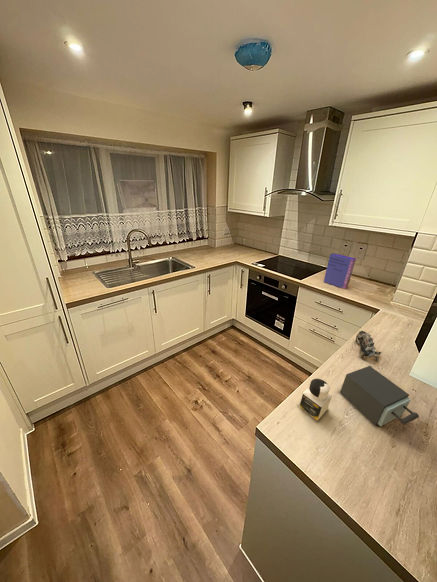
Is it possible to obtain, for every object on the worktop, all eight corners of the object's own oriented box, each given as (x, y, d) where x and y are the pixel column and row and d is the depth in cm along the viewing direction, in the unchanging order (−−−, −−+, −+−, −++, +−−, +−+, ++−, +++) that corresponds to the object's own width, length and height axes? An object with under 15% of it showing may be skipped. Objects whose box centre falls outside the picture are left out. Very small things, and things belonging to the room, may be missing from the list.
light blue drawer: (415, 426, 78) (425, 410, 75) (393, 438, 74) (402, 422, 71) (367, 386, 93) (373, 371, 90) (346, 395, 89) (352, 379, 86)
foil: (348, 349, 110) (360, 323, 115) (347, 358, 118) (359, 334, 123) (376, 360, 103) (388, 333, 108) (374, 369, 110) (385, 343, 115)
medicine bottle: (298, 406, 85) (305, 382, 79) (309, 396, 89) (316, 372, 84) (317, 421, 80) (325, 396, 74) (327, 409, 84) (335, 385, 79)
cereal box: (347, 287, 184) (356, 258, 174) (345, 289, 181) (353, 259, 171) (325, 280, 196) (332, 252, 185) (323, 282, 193) (330, 253, 182)
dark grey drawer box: (398, 413, 83) (409, 394, 79) (374, 425, 79) (384, 406, 75) (362, 383, 95) (369, 365, 91) (339, 392, 91) (346, 374, 87)
